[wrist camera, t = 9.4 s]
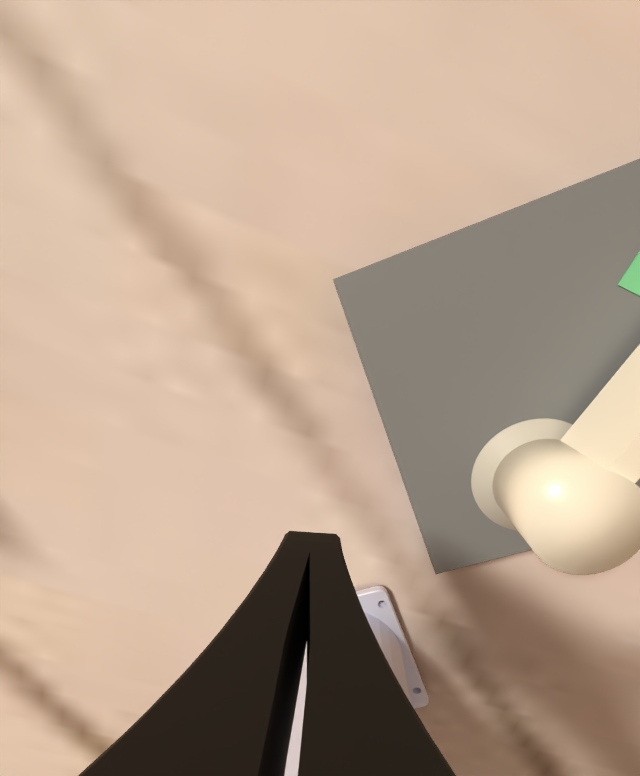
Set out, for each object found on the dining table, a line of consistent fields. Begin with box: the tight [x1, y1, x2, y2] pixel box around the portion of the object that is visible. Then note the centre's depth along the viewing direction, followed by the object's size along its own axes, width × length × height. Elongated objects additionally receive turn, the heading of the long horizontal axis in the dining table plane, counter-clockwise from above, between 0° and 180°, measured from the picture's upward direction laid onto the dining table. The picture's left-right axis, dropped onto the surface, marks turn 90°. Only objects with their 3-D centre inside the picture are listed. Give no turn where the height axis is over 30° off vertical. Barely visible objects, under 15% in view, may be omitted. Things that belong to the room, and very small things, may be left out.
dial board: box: [333, 159, 640, 574], centre depth 16 cm, size 16×20×2 cm
